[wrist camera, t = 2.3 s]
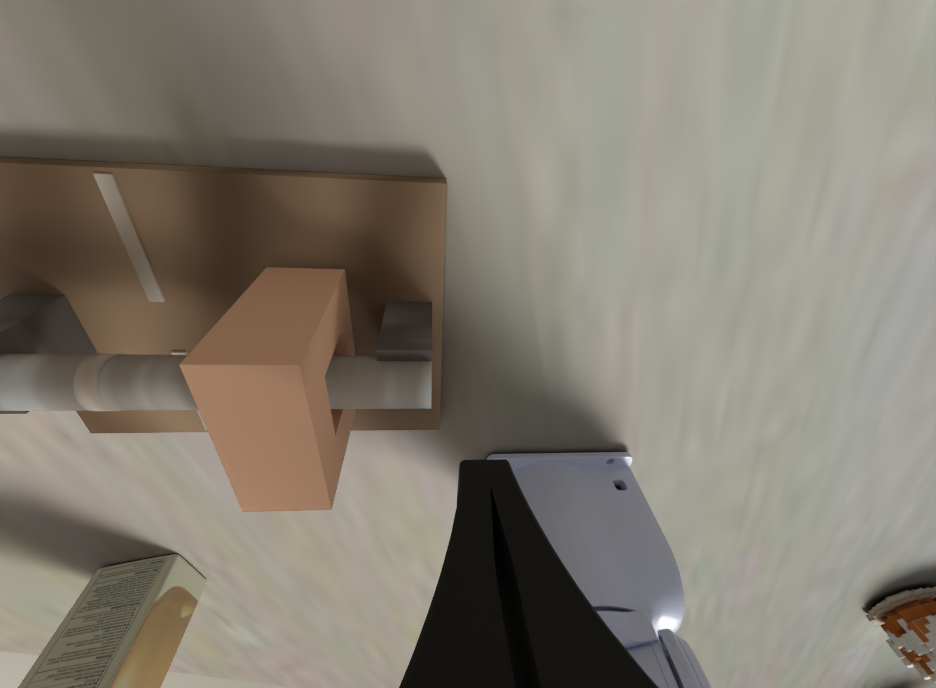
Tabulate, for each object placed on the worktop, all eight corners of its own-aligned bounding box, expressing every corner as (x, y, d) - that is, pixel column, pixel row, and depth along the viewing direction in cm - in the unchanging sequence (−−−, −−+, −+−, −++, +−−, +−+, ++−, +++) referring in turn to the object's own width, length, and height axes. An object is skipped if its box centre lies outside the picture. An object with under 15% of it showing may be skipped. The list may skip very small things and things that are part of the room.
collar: (344, 269, 16) (299, 365, 10) (359, 391, 19) (331, 509, 14) (266, 267, 15) (179, 364, 10) (296, 391, 19) (242, 512, 14)
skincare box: (135, 592, 31) (-11, 841, 21) (97, 565, 29) (-88, 831, 18) (213, 579, 31) (105, 824, 21) (181, 551, 28) (41, 812, 18)
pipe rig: (446, 178, 16) (451, 221, 11) (439, 416, 23) (441, 507, 18) (-62, 153, 14) (-325, 192, 9) (104, 419, 21) (6, 519, 16)
